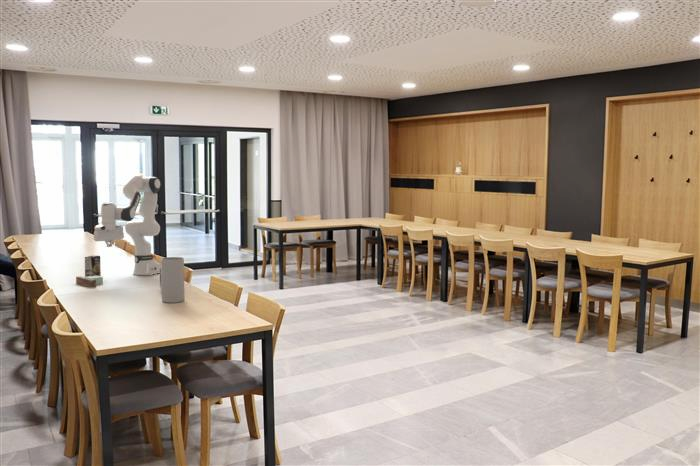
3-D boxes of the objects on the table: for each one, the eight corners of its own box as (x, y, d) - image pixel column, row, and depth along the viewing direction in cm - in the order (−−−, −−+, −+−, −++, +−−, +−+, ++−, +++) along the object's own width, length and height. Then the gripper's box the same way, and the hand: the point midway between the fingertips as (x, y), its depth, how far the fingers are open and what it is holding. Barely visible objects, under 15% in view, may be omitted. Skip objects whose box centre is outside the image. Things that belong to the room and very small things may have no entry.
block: (96, 282, 407) (96, 275, 406) (102, 284, 402) (102, 276, 401) (85, 284, 400) (84, 276, 400) (91, 285, 395) (91, 278, 395)
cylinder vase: (172, 304, 343) (171, 260, 341) (157, 301, 350) (156, 258, 348) (188, 300, 354) (188, 258, 352) (174, 297, 361) (173, 256, 358)
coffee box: (93, 280, 413) (92, 257, 411) (84, 280, 414) (84, 256, 413) (101, 278, 422) (100, 255, 420) (92, 278, 423) (92, 255, 422)
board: (80, 282, 404) (80, 276, 404) (96, 286, 392) (95, 279, 391) (76, 283, 402) (76, 276, 401) (91, 287, 389) (91, 280, 389)
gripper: (120, 224, 416) (121, 244, 418) (92, 227, 400) (92, 247, 402) (125, 225, 412) (126, 245, 414) (96, 228, 396) (97, 248, 398)
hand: (109, 246), depth 408 cm, fingers closed
